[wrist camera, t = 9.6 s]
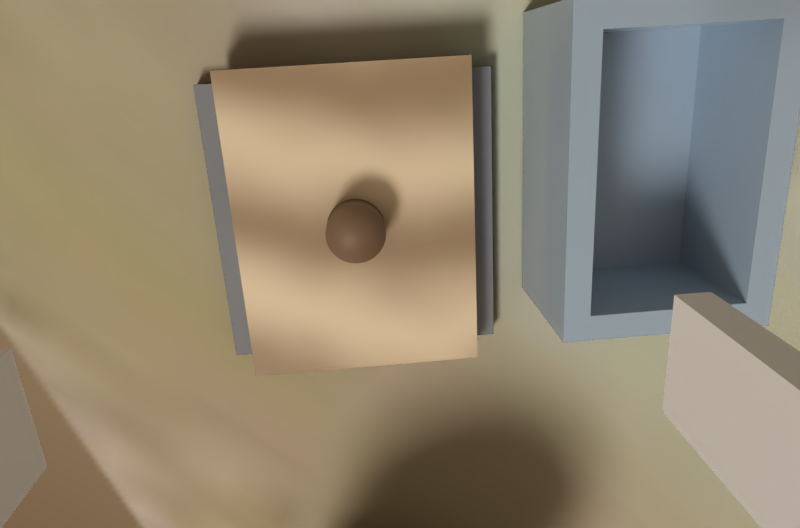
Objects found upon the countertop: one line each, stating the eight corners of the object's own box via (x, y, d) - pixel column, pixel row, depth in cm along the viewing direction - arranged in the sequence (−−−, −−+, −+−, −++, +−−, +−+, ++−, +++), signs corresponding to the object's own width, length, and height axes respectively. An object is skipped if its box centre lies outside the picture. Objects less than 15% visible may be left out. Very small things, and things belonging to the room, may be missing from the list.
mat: (196, 84, 25) (193, 84, 24) (487, 66, 25) (490, 66, 25) (239, 349, 28) (236, 355, 28) (490, 328, 29) (493, 333, 28)
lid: (216, 70, 24) (202, 71, 22) (465, 55, 24) (477, 54, 22) (259, 363, 28) (251, 389, 26) (472, 345, 29) (482, 369, 26)
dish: (523, 12, 25) (573, -4, 19) (713, 1, 25) (819, -18, 19) (522, 287, 28) (563, 342, 23) (687, 273, 29) (768, 325, 23)
